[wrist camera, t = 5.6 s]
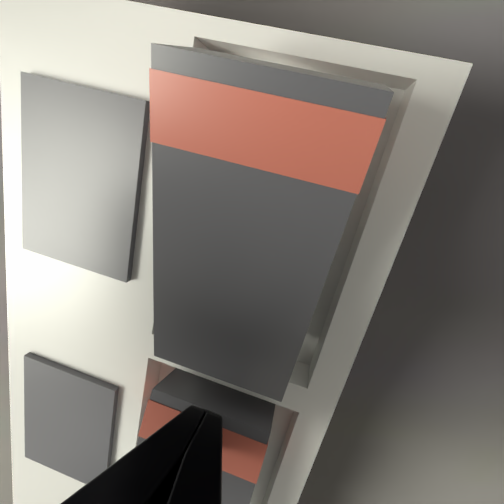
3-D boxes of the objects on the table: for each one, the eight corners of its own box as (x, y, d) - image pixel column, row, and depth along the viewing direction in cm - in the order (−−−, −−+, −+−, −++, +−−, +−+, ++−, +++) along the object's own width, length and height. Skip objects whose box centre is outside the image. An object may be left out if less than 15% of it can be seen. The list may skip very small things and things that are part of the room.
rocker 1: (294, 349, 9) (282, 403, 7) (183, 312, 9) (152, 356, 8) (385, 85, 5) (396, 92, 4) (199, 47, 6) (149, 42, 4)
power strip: (241, 584, 17) (215, 711, 13) (79, 509, 19) (11, 603, 15) (415, 101, 9) (478, 60, 5) (112, 39, 11) (-12, -29, 7)
